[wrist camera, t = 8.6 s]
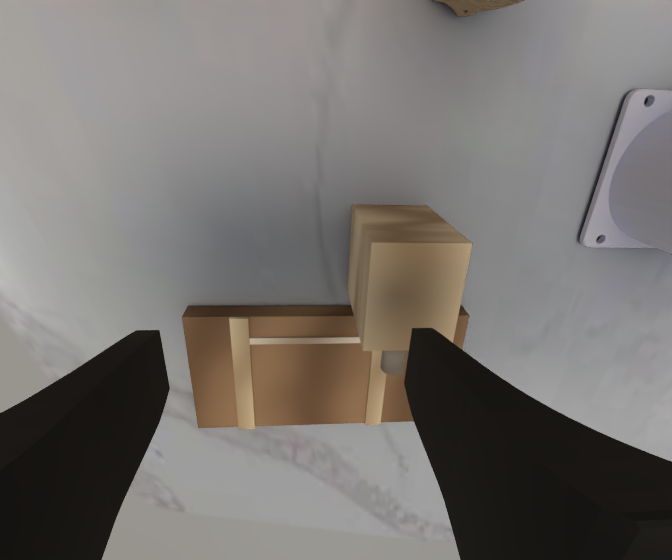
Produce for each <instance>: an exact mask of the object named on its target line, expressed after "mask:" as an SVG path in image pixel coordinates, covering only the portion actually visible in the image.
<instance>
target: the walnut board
mask: <svg viewBox="0 0 672 560" xmlns="http://www.w3.org/2000/svg"><path fill="white" fill-rule="evenodd" d="M468 319H469V315H468V313H467V312H466V311H465V310H464V308H463V307H462V306H461V305H460V309H459V314H458V319H457V324H456V329H455V334H454V339H453V343H454V344H455V345H456V346H458V347H459V348H460V349H462V346H463V342H464V337H465V332H466V328H467V323H468ZM182 320H183V327H184V334H185V340H186V347H187V354H188V361H189V368H190V375H191V381H192V388H193V395H194V402H195V409H196V416H197V423H198V428H217V427H239V429H255V426H279V425H310V424H341V423H365V425H380V423H381V422H402V421H414V419H413V417H412V414H411V410H410V406H409V403H408V399H407V394H406V390H405V385H404V380H405V373H406V366H407V359H408V353H409V350H406V357H405V364H404V371H403V372H402V373H401V374H399V375H389V374H386V373H384V372H383V371H382V370H381V367H380V365H381V356H382V351H363V350H362V346H361V342H360V338H359V334H358V330H357V326H356V322H355V318H354V314H353V310H352V306H188V307H187V309H186V311H185V313H184V315H183V316H182Z"/></svg>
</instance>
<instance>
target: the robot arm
mask: <svg viewBox="0 0 672 560" xmlns="http://www.w3.org/2000/svg"><path fill="white" fill-rule="evenodd" d="M646 97H648V102H647V103H646V105H644V100H645V98H646ZM598 236H600V238H599V240H597V241H596V239H597V237H598ZM580 243H581V244H582V245H584V246H586V247H599V248H658V249H660V250H662V251H665V252H667V253H670V254H672V90H655V89H635V90H633V91H631V92H630V93H629V94H628V95H627V96H626V98H625V100H624V103H623V106H622V109H621V113H620V116H619V119H618V122H617V125H616V128H615V131H614V134H613V137H612V140H611V143H610V146H609V149H608V153H607V156H606V159H605V162H604V165H603V168H602V171H601V174H600V177H599V180H598V183H597V186H596V189H595V193H594V196H593V199H592V202H591V205H590V208H589V211H588V214H587V217H586V220H585V223H584V226H583V229H582V232H581V236H580ZM404 385H405V390H406V394H407V399H408V403H409V406H410V410H411V414H412V417H413V419H414V422H415V425H416V427H417V430H418V433H419V435H420V438H421V440H422V443H423V446H424V448H425V451H426V453H427V456H428V458H429V461H430V463H431V466H432V468H433V471H434V474H435V476H436V479H437V481H438V484H439V487H440V490H441V492H442V495H443V498H444V501H445V505H446V508H447V512H448V515H449V519H450V522H451V526H452V529H453V533H454V537H455V540H456V544H457V548H458V552H459V555H460V559H461V560H672V462H671V461H668V460H665V459H663V458H660V457H657V456H655V455H652V454H650V453H647V452H645V451H642V450H640V449H637V448H635V447H632V446H630V445H628V444H625V443H623V442H620V441H618V440H616V439H613V438H611V437H609V436H606V435H604V434H602V433H600V432H598V431H595V430H593V429H591V428H589V427H587V426H585V425H583V424H581V423H579V422H577V421H575V420H573V419H570V418H568V417H567V416H565V415H563V414H561V413H559V412H557V411H555V410H553V409H551V408H550V407H548V406H546V405H544V404H543V403H541V402H539V401H537V400H535V399H534V398H532V397H530V396H528V395H527V394H525V393H524V392H522V391H520V390H519V389H517V388H515V387H514V386H512V385H511V384H509V383H508V382H506V381H505V380H503V379H502V378H500V377H499V376H497V375H496V374H494V373H493V372H492V371H490V370H489V369H487V368H486V367H484V366H483V365H482V364H480V363H479V362H478V361H476V360H475V359H474V358H472V357H471V356H470V355H468V354H467V353H466V352H464V351H463V350H462V349H460V348H459V347H458V346H456V345H455V344H454V343H452V342H451V341H450V340H449V339H447V338H446V337H445V336H443V335H442V334H441V333H439V332H438V331H436V330H435V329H433V328H412V332H411V339H410V346H409V353H408V359H407V366H406V373H405V380H404ZM169 389H170V388H169V382H168V377H167V371H166V365H165V360H164V354H163V348H162V343H161V337H160V332H159V330H137V331H135V332H133V333H131V334H129V335H128V336H126V337H124V338H123V339H121V340H120V341H118V342H117V343H115V344H114V345H112V346H111V347H109V348H108V349H106V350H105V351H103V352H102V353H100V354H98V355H97V356H95V357H94V358H92V359H91V360H89V361H88V362H86V363H85V364H83V365H82V366H80V367H79V368H77V369H76V370H74V371H72V372H71V373H69V374H68V375H66V376H64V377H63V378H61V379H59V380H58V381H56V382H54V383H53V384H51V385H49V386H48V387H46V388H45V389H43V390H41V391H39V392H38V393H36V394H34V395H33V396H31V397H29V398H28V399H26V400H24V401H22V402H21V403H19V404H17V405H15V406H13V407H11V408H10V409H8V410H6V411H4V412H2V413H0V560H101V559H102V557H103V554H104V551H105V548H106V545H107V542H108V539H109V537H110V534H111V531H112V528H113V525H114V522H115V520H116V517H117V515H118V512H119V510H120V507H121V505H122V502H123V500H124V498H125V496H126V494H127V492H128V489H129V487H130V485H131V483H132V481H133V479H134V476H135V474H136V472H137V470H138V468H139V466H140V464H141V461H142V459H143V457H144V455H145V453H146V451H147V448H148V446H149V444H150V442H151V440H152V437H153V435H154V433H155V431H156V429H157V426H158V424H159V422H160V419H161V416H162V413H163V409H164V406H165V403H166V399H167V396H168V392H169Z"/></svg>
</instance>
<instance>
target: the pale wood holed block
mask: <svg viewBox="0 0 672 560" xmlns="http://www.w3.org/2000/svg"><path fill="white" fill-rule="evenodd" d="M472 244H473V243H471V242H470V241H469V240H468V239H467V238H465V237H464V236H463V235H462V234H461V233H459V232H458V231H457V230H456V229H455V228H453V227H452V226H451V225H450V224H448V223H447V222H446V221H445V220H444V219H442V218H441V217H440V216H439V215H438V214H436V213H435V212H434V211H433V210H432V209H430V208H429V207H428V206H413V205H359V204H352V221H351V238H350V256H349V273H348V294H349V298H350V302H351V306H352V310H353V314H354V318H355V322H356V326H357V330H358V334H359V338H360V342H361V346H362V350H363V351H382V356H381V365H380V367H381V370H382V371H383V372H384V373H386V374H389V375H399V374H401V373H402V372H403V371H404V364H405V357H406V350H409V346H410V339H411V332H412V328H433V329H435V330H436V331H438V332H439V333H441V334H442V335H443V336H445V337H446V338H447V339H449V340H450V341H451V342H452V343H453V339H454V334H455V329H456V324H457V319H458V314H459V309H460V304H461V299H462V294H463V289H464V284H465V279H466V274H467V269H468V264H469V259H470V254H471V249H472Z"/></svg>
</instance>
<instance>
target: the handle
mask: <svg viewBox="0 0 672 560" xmlns="http://www.w3.org/2000/svg"><path fill="white" fill-rule="evenodd" d="M433 1H435V2H436V1H440V2H443V3H445V4H447V5H448V6H450V7H451V8H452V9H453V10H454V11H455V14H456V15H457V16H469V15H473V14H476V13H477V12H478V11H487V10H493V9H498V8H502V7H506V6H509V5H512V4H516V3H518V2H521V1H524V0H433Z"/></svg>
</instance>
